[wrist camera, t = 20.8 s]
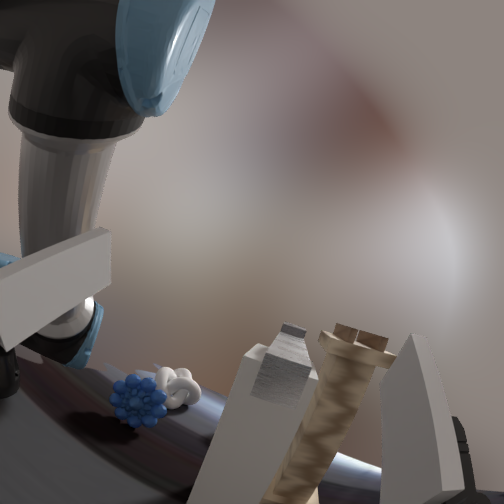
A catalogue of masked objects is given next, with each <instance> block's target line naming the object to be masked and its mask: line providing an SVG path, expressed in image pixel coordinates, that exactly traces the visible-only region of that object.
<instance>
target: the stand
mask: <svg viewBox="0 0 504 504" xmlns="http://www.w3.org/2000/svg"><path fill="white" fill-rule="evenodd" d="M357 332H358V330H357V329H354V328H351V327H348V326H344V325H341V324H338V323H336V326H335V330H334V332H333V334H332V333H329V332H325V331H322V330H321V333H320V336H319V339H318V342H319V343H320V345H321V346H322V347H323V349H324V350H325V351H326V352H327V354H326V356H325V359H324V362H323V364H322V367H321V370H320V372H319V375H318V379H319V381H318V383H317V386H316V388H315V391H314V393H313V396H312V398H311V400H310V403H309V405H308V407H307V410H306V412H305V414H304V417H303V419H302V421H301V423H300V425H299V428H298V430H297V432H296V434H295V436H294V438H293V440H292V442H291V444H290V447H289V449H288V451H287V453H286V455H285V457H284V459H283V461H282V462H281V464H280V466H279V468H278V470H277V472H276V474H275V476H274V478H273V479H272V481H271V483H270V485H269V487H268V489H267V490H266V492H265V494H264V496H263V497H262V499H261V501H260V502H259V504H319V501H318V489H317V486H318V485H319V483H320V481H321V480H322V478H323V476H324V475H325V473H326V471H327V469H328V468H329V466H330V464H331V462H332V461H333V459H334V457H335V455H336V453H337V451H338V449H339V448H340V446H341V444H342V442H343V440H344V438H345V436H346V434H347V432H348V430H349V428H350V426H351V423H352V421H353V419H354V417H355V415H356V413H357V410H358V408H359V406H360V404H361V401H362V399H363V397H364V394H365V392H366V389H367V387H368V385H369V382H370V379H371V377H372V374H373V372H374V369H375V366H378V367H383V368H386V369H389V368H390V367H391V365H392V364H393V362H394V360H395V359H396V357H397V356H396V355H394V354H391V353H389V352H387V351H385V348H386V345H387V342H388V338H385V337H382V336H378V335H375V334H372V333H368V332H365V331H361V330H360V331H359V334H358V337H357V340H355V338H356V335H357Z"/></svg>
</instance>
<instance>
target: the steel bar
mask: <svg viewBox="0 0 504 504" xmlns="http://www.w3.org/2000/svg"><path fill="white" fill-rule="evenodd" d="M305 333H306V329H305V328H303V327H300V326H297V325H294V324H291V323H288V322H284V323H283V326H282V329H281V331H280V333H279V334H278V336H277V337H276V339H275V340H274V341H273V343H272V344H271V346H270V347H269V349H268V350H267V351H266V353H265V356H264V359H263V361H262V364H261V367H260V369H259V372H258V375H257V377H256V380H255V383H254V385H253V388H252V390H251V393H250V395H251V396H254V397H257V398H260V399H263V400H265V401H268V402H271V403H275V404H278V405H281V406H284V407H287V408H290V409H294V410H295V409H296V406H297V404H298V402H299V399H300V397H301V394H302V392H303V390H304V387H305V385H306V382H307V380H308V377H309V374H310V372H311V369H312V365H311V362H310V358H309V355H308V351H307V348H306V345H305V341H304V336H305Z"/></svg>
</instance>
